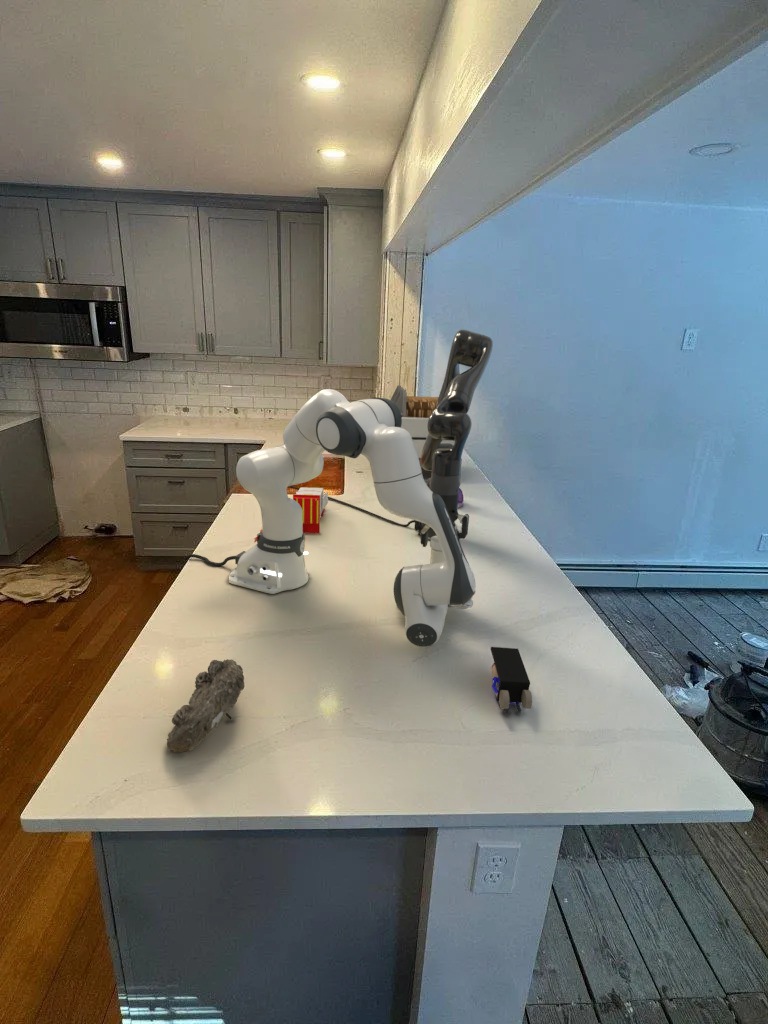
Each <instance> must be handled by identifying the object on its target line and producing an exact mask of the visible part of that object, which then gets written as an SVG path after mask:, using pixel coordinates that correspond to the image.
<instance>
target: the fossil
mask: <svg viewBox="0 0 768 1024" xmlns="http://www.w3.org/2000/svg"><path fill="white" fill-rule="evenodd" d="M243 670H244V669H243V667H242V665H240V664H237V662H236V661H235V660H234V659H232V658H231V659H227V658H226V659H224V660H223V661H222V660H217V659H212V660H211V661H210V663H209V665H208V666H207V671H201V672H199V673H198V674H197V675H196V676H195V680H194V684H195V685H194V687H195V689H194V690H193V693H192V694H191V697H190V698H189V700H188V704H184V705H182V706H181V707H180V709H177V710H176V711H175V713H174V715H173V716H172V718H171V723H172V724H173V727H172V730H171V731H170V732H168V734H167V738H166V741H167V742H166V745H167V749H168V750H169V751H173V752H174V753H176V754H178V753H182V752H188V751H189V752H192V751H193V750H195V748H196V747H197V746H199V744H200V743H201V742H203V741H204V740H205V739H206V738H207V737H208V736H209V735H210V734H211V733H212V732H214V730H215V729H217V727H218V726H219V724H220V722H221V721H222V720H223V719H224V718H225V716H226V717H227V719H229V720H233V717H232V715H230V714H229V710H230V709H231V708H234V706H235V704H236V703H237V702H238V699H239V697H240V695H241V693H242V691H243V690H245V689H244V688H245V675H244V671H243Z"/></svg>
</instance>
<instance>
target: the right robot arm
mask: <svg viewBox="0 0 768 1024" xmlns="http://www.w3.org/2000/svg"><path fill="white" fill-rule="evenodd" d="M493 348H494V341H493V339H492V338H491V337H490V336H488V335H486V334H481V333H479V332H475V331H472V330H467V329H459V330H457V332H456V333H455V335H454V337H453V339H452V343H451V346H450V351H449V355H448V361H447V366H446V369H445V374H444V378H443V382H442V386H441V389H440V392H439V394H438V397H439V398H438V401H437V405H436V408H435V409H434V411H433V412H432V413H431V415H430V417H429V420H428V424H427V429H428V432H429V433H428V436H427V438H426V441H425V443H424V446H423V449H422V453H421V465H422V466H421V468H422V469H423V470H424V471H428V472H429V471H430V472H431V475H430V477H428V478H427V479H424V481H425V483H426V484H427V486H428V487H429V489H430V490H431V491H432V492H433V493H436V494H438V495H440V496H441V498H442V499H443V501H444V503H445V505H446V507H447V510H448V512H449V515H450V517H451V520H452V522H453V525H454V528H455V530H456V533H457V536H458V539H459V541H460V542H461V539H466V537H467V536H468V533H469V522H470V515H469V514H468V513H465V514H459V512H458V508H457V507H458V496H459V488H460V487H459V485H460V486H461V474H459V473H460V463H461V464H462V462H461V458H462V457H463V451H464V448H465V445H466V443H467V441H468V437H469V435H470V433H471V430H472V418H471V416H470V415H469V414H468V412H469V410H470V407H471V405H472V401H473V399H474V394H475V391H476V389H477V386H478V385H479V383H480V381H481V379H482V377H483V375H484V373H485V371H486V368H487V366H488V363H489V361H490V358H491V355H492V351H493ZM460 365H461V366H464V367H468V368H469V369H467V370H465V371H463V372H461V371H460ZM442 440H453V441H455V442H454V445H452V444H450V443H441V442H442ZM459 475H460V477H459ZM287 488H290V489H294V490H296V491H298V490H299V489H300V488H301V487H297V486H294V485H292V486H288V487H287ZM323 496H324V494H323ZM328 500H330V501H334V502H337V503H339V504H342V505H345V506H347V507H351V508H353V509H356V510H358V511H361V512H363V513H366V514H369V515H371V516H374V517H376V518H379V519H380V520H383V521H386V522H388V523H391V524H393V525H396V526H398V527H403V528H408V527H409V526H410V525H411V524H414V531H417V535H418V536H420V544H421V545H422V547H423V548H426V547H427V546H428V542H429V541H430V540H431V537H433V536H437V535H436V533H435V531H434V530H433V529H432V528H431V527H430V526H428V525H427V524H424V523H422V522H419V521H416V520H412V519H411V520H409V521H408V522H407V524H401V523H399V522H396V521H394V520H391V519H389V518H386V517H383V516H381V515H380V514H379V515H378V514H376V513H373V512H371V511H369V510H366V509H364V508H362V507H359V506H356V505H353V504H351V503H348V502H346V501H343V500H339V499H337V498H334V497H330V496H328ZM457 520H459V524H461V529H460V530H461V531H460V530H459V528H458V526H457V523H456V521H457Z"/></svg>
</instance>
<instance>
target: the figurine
mask: <svg viewBox="0 0 768 1024" xmlns="http://www.w3.org/2000/svg"><path fill="white" fill-rule="evenodd" d="M463 503H464V493H463V490H462V489H461V484H460V485H459V496H458V507H457V509H459V508H461V507H462V506H463Z"/></svg>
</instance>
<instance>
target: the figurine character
mask: <svg viewBox="0 0 768 1024" xmlns="http://www.w3.org/2000/svg"><path fill="white" fill-rule="evenodd" d="M490 653H491V655H492V659H493V663H492V665H491V667H490V673H491V676H492V684H491V688H492V689H493V692H494V693H495V695H496V702H499V704H498V705H499V708H500V709H502V710H503V712H504V713H505V714H507V713H508V709H509V708H510V704H515V707H516V708H515V709H516V711H517V713H519V714H521V713H522V708H523V709H527V710H528V709H529V710H530V709H532V707H533V695H532V691H531V690H530V686H531V681H530V679H529V675H528V673H527V670H526V667H525V664H524V662H523V657H522V655H521V652H520V649H519V648H514V647H501V646H490ZM497 685H498V687H497ZM520 704H521V705H520ZM521 706H522V708H521Z"/></svg>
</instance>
